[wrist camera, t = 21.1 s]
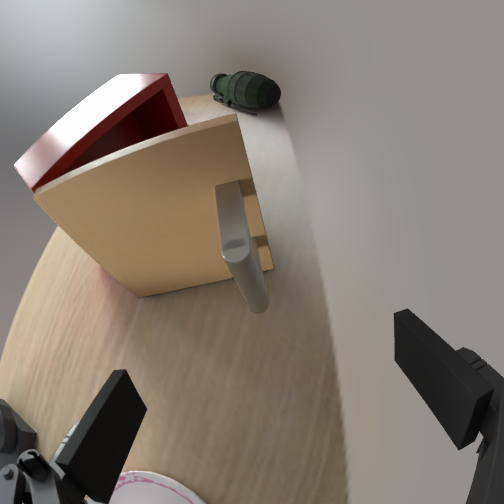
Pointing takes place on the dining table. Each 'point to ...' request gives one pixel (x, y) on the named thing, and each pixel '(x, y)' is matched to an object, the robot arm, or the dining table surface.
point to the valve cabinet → (104, 126)
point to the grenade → (245, 90)
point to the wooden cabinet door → (169, 212)
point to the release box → (13, 436)
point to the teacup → (150, 490)
